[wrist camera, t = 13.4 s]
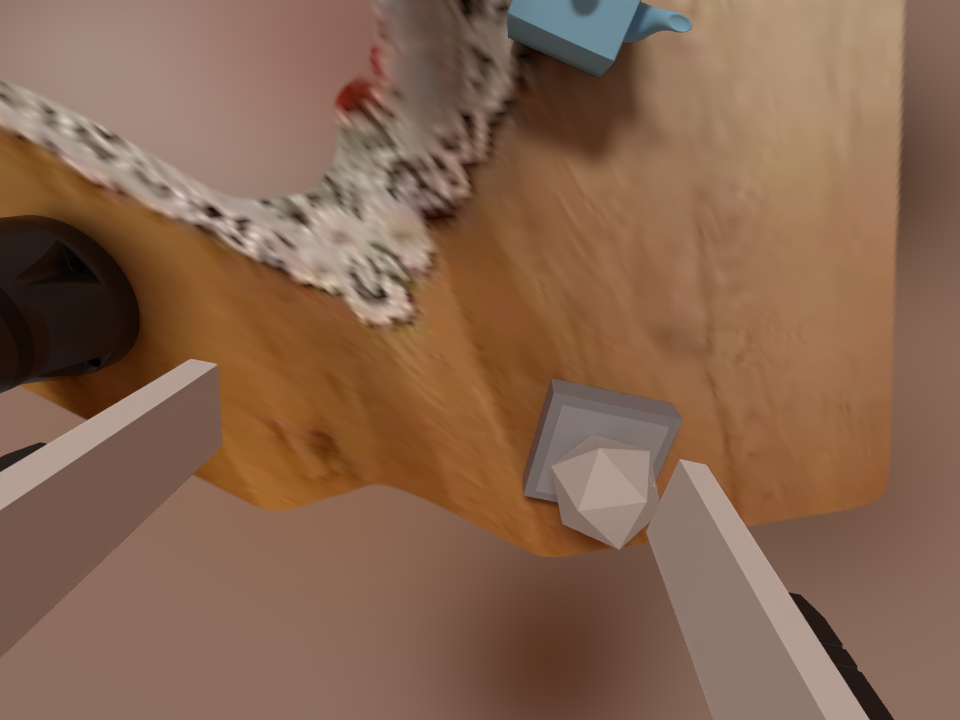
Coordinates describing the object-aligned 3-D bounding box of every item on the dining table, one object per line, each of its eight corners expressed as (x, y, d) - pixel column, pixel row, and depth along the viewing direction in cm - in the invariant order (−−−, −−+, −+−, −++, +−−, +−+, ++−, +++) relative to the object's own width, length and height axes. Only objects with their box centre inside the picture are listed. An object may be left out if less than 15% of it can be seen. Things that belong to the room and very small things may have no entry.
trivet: (522, 476, 48) (523, 497, 45) (551, 378, 43) (553, 394, 40) (631, 498, 48) (639, 520, 45) (672, 403, 43) (683, 421, 40)
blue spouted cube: (680, 5, 31) (727, -41, 24) (637, 98, 34) (669, 81, 27) (521, -70, 30) (524, -139, 23) (489, 32, 33) (482, -4, 26)
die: (616, 505, 46) (698, 536, 36) (541, 535, 42) (611, 577, 33) (600, 423, 45) (679, 433, 36) (524, 446, 42) (589, 464, 33)
